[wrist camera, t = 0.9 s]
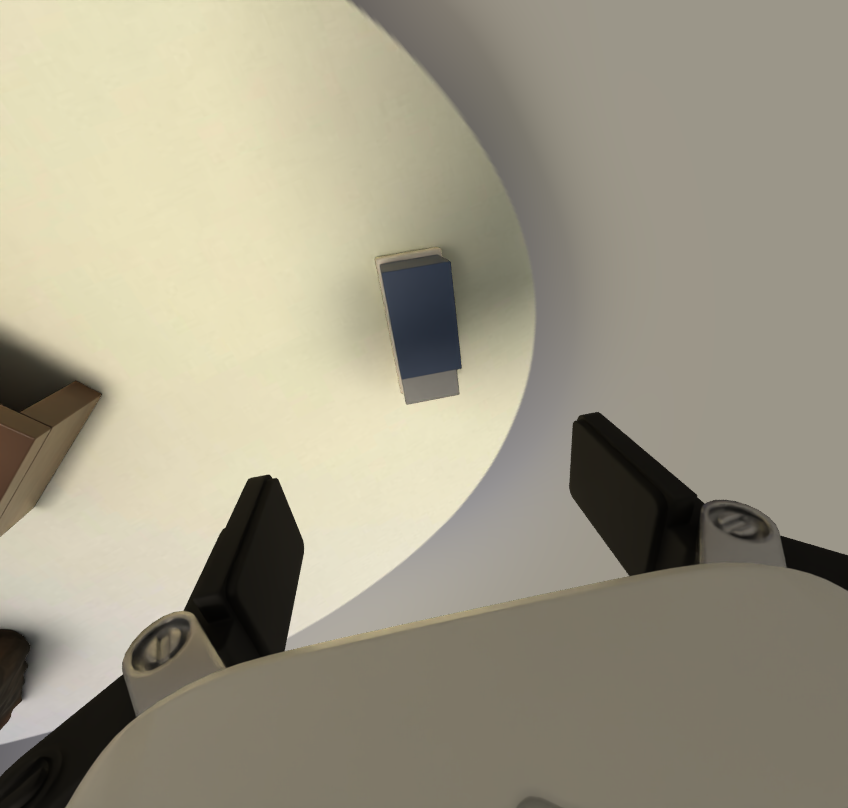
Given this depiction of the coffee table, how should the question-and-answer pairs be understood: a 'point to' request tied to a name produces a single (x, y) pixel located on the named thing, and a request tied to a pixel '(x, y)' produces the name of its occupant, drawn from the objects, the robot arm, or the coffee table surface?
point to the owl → (11, 671)
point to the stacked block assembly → (421, 322)
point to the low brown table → (38, 446)
